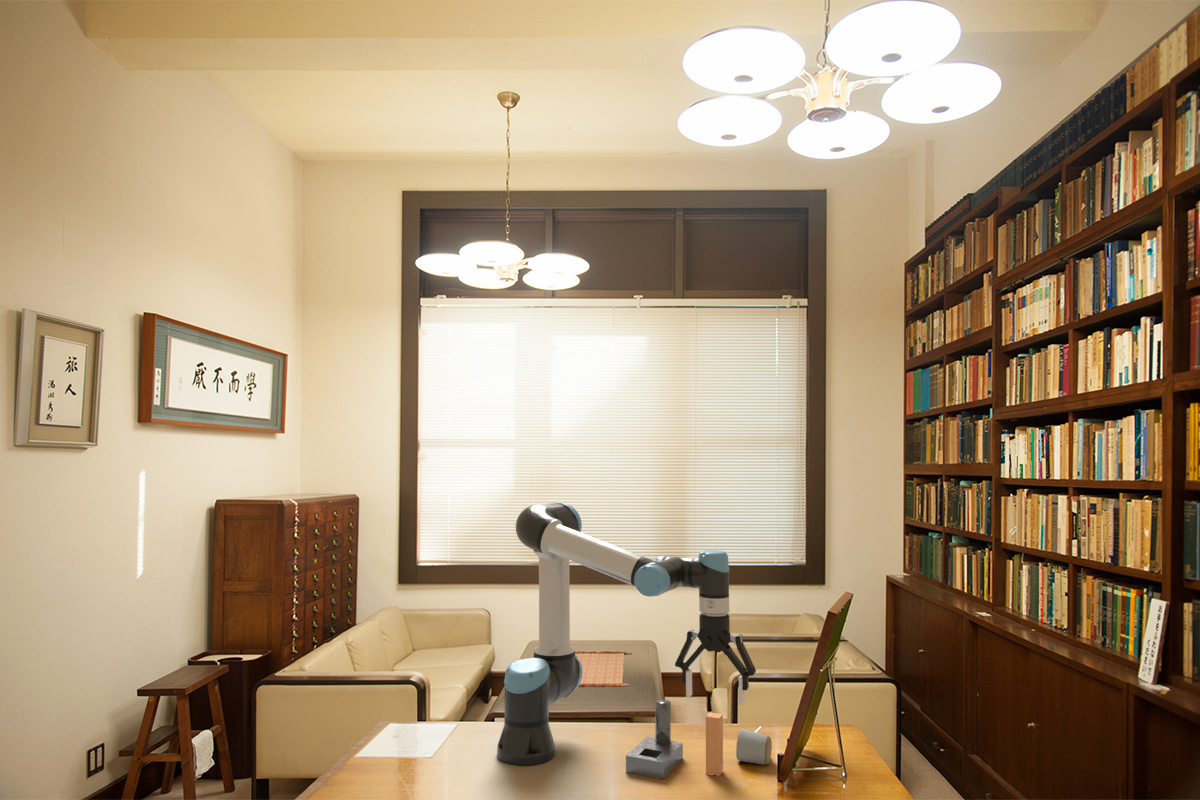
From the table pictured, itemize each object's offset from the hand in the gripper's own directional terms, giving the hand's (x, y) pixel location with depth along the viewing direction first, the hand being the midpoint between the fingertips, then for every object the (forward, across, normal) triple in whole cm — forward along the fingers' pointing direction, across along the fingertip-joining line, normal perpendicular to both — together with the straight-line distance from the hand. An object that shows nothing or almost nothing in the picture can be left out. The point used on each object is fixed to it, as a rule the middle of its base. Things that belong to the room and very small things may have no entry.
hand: (715, 699), depth 197 cm
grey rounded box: (+18, +7, +12) cm, 23 cm away
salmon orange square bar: (+18, 0, 0) cm, 18 cm away
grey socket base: (+18, -15, -2) cm, 24 cm away
